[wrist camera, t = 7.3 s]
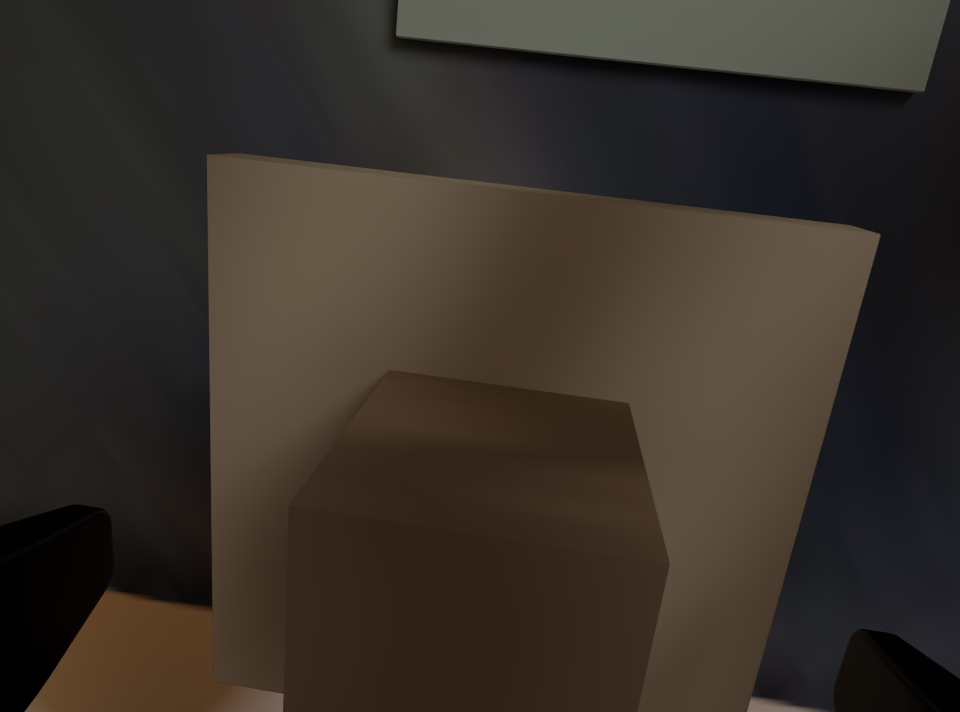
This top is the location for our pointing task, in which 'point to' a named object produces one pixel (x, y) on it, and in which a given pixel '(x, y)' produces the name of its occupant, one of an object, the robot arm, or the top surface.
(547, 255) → the wooden lid
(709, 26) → the rubber mat
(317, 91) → the top surface
